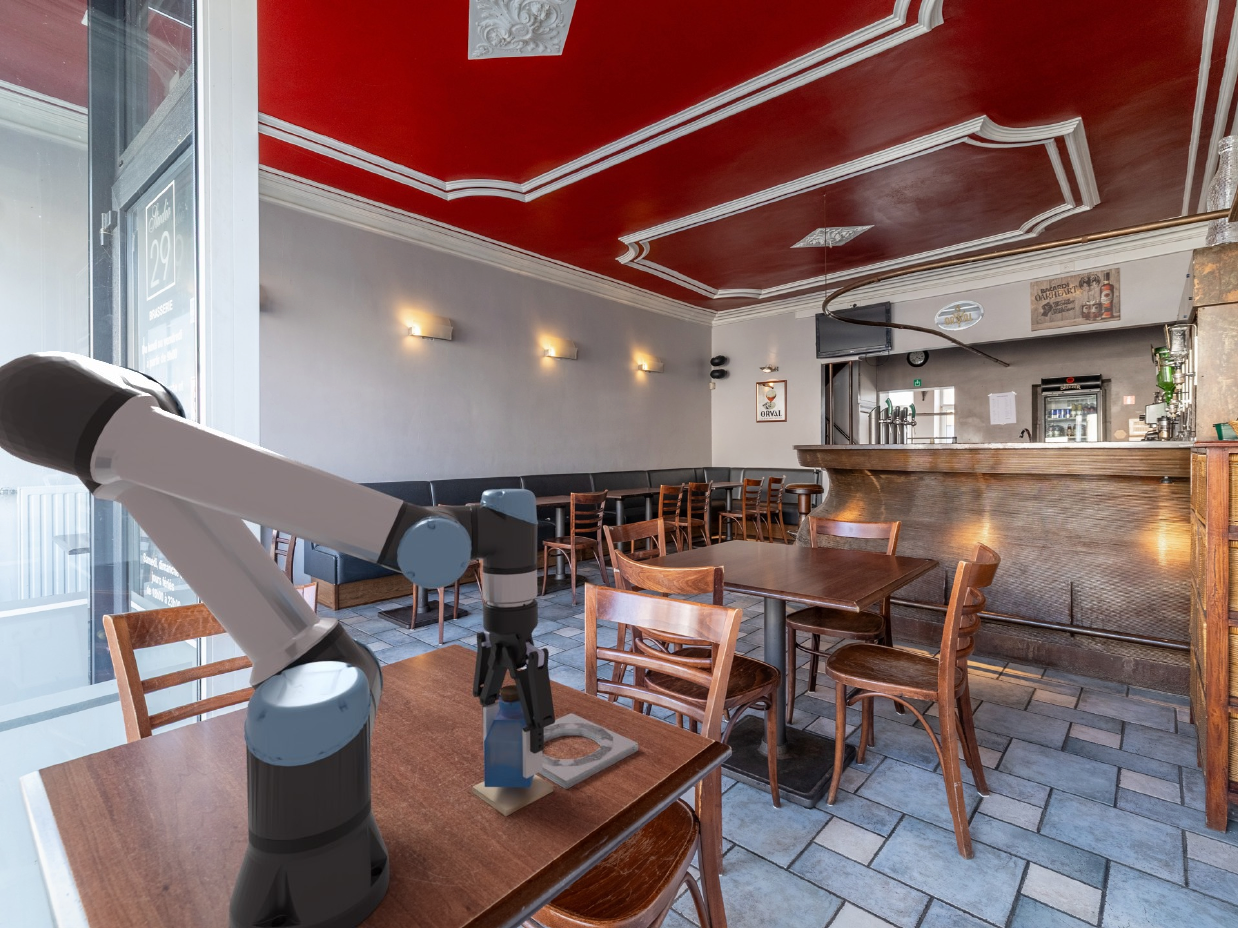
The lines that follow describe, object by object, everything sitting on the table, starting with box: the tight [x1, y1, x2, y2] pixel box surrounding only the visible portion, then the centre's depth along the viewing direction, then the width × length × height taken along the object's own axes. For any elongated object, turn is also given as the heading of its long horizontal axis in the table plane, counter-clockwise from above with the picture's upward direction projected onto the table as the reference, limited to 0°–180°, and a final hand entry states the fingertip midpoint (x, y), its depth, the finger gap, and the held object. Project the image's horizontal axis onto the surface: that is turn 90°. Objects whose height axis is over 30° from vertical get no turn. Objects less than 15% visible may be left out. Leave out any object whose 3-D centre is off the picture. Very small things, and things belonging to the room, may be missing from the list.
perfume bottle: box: [483, 684, 534, 787], centre depth 83 cm, size 6×6×12 cm
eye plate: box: [538, 712, 639, 790], centre depth 95 cm, size 15×16×1 cm
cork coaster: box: [471, 774, 554, 817], centre depth 83 cm, size 8×8×1 cm
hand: (512, 760), depth 83 cm, fingers closed on perfume bottle, 9 cm apart
